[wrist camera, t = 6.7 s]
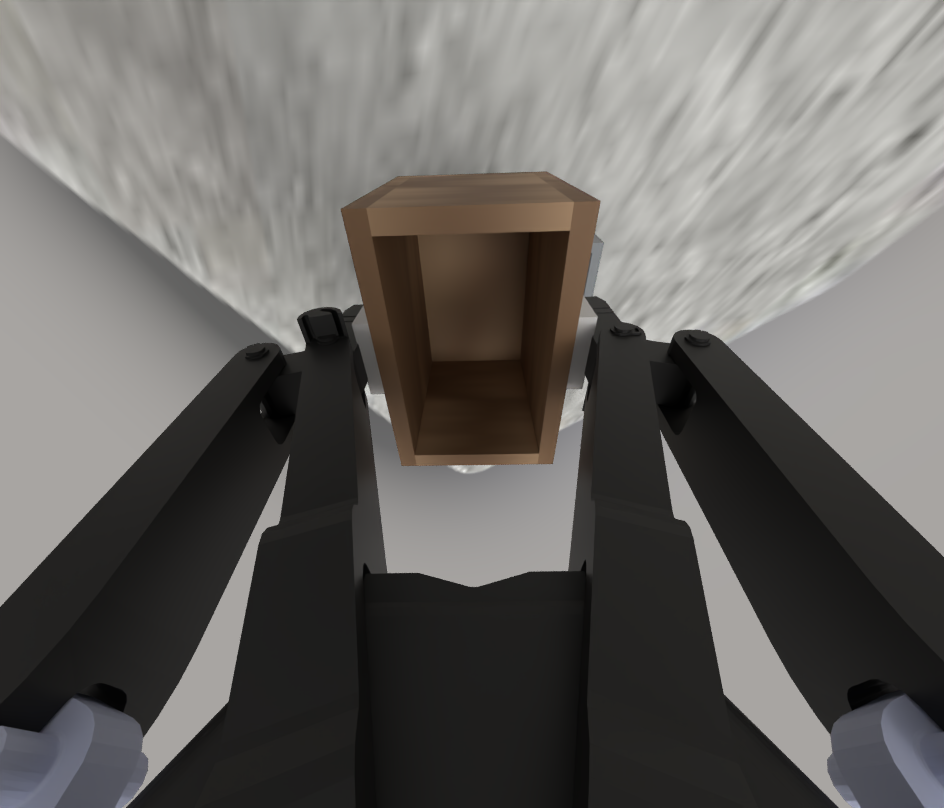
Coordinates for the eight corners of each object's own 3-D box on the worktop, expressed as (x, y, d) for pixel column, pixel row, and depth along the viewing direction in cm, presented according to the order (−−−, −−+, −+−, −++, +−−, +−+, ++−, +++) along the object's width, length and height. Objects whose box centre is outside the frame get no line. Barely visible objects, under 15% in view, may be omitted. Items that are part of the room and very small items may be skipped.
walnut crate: (423, 365, 19) (401, 466, 14) (397, 176, 14) (340, 209, 8) (529, 363, 19) (552, 463, 13) (546, 171, 14) (600, 200, 8)
